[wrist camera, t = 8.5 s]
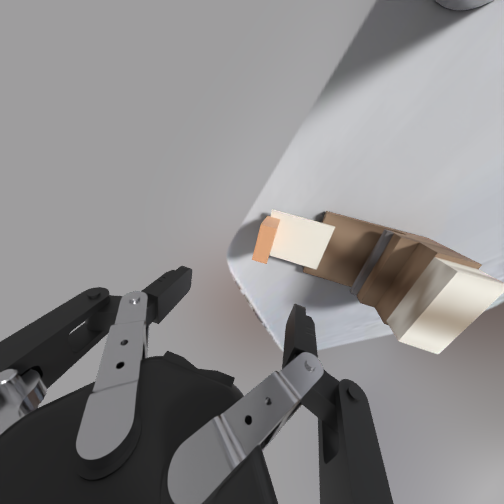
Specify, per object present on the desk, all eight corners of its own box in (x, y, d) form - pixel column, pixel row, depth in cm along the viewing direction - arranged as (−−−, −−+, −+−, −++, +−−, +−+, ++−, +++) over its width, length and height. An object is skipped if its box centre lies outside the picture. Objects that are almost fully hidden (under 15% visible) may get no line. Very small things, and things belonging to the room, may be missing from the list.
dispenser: (326, 211, 26) (342, 233, 16) (428, 238, 25) (515, 281, 15) (302, 268, 31) (305, 313, 21) (388, 295, 29) (435, 357, 19)
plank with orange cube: (269, 208, 27) (262, 216, 22) (334, 226, 25) (343, 239, 21) (258, 250, 30) (250, 265, 25) (316, 268, 28) (319, 287, 24)
